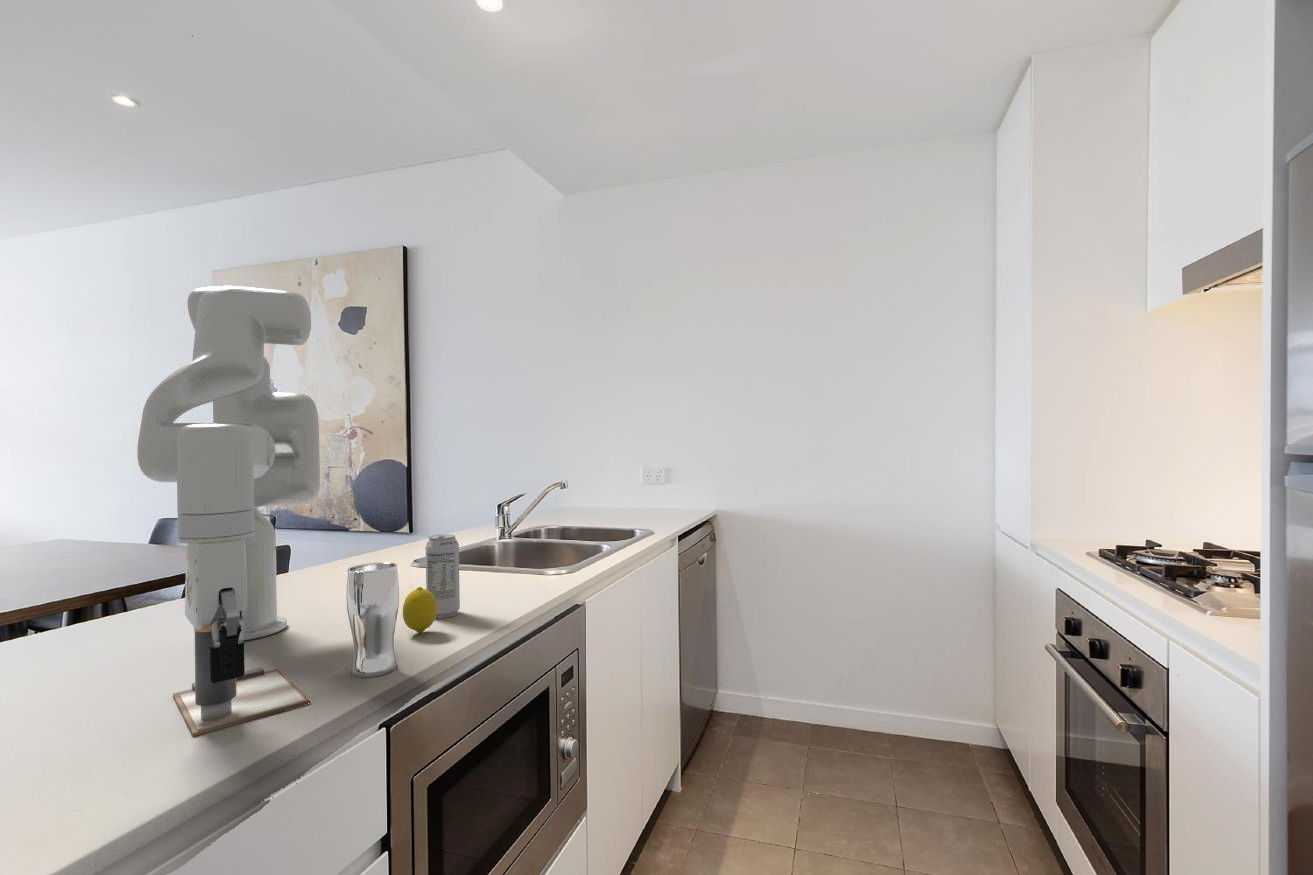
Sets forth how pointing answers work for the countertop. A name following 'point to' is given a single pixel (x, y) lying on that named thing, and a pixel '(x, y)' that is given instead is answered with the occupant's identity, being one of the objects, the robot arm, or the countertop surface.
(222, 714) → the grey rounded cylinder
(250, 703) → the clipboard
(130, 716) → the countertop surface
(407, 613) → the lemon
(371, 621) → the beer glass
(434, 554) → the energy drink can
